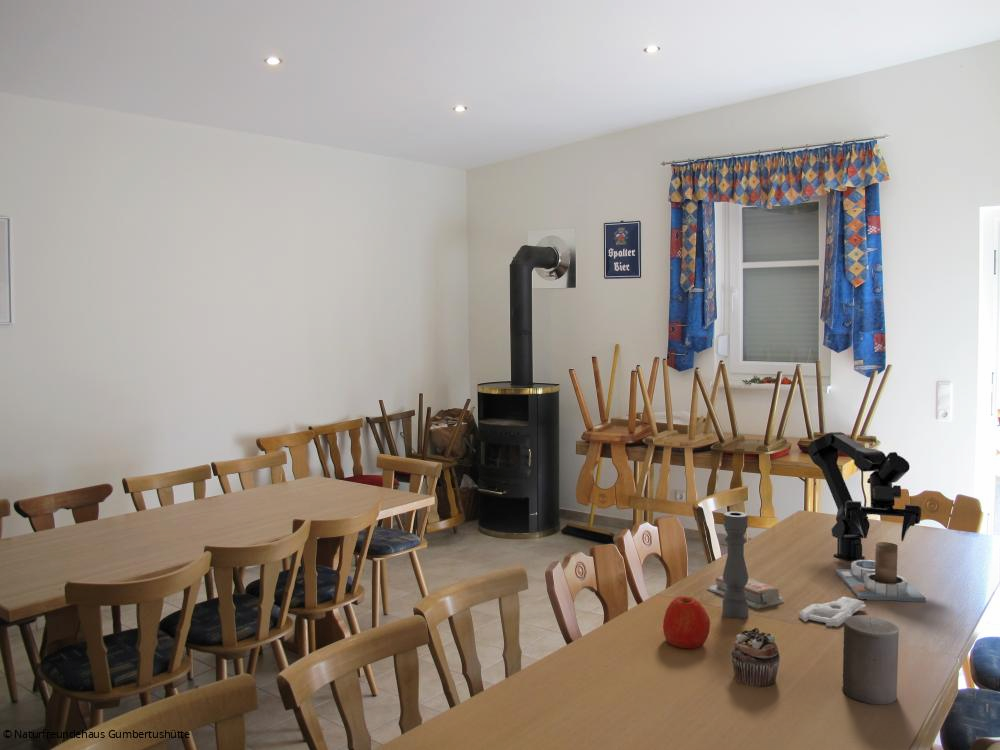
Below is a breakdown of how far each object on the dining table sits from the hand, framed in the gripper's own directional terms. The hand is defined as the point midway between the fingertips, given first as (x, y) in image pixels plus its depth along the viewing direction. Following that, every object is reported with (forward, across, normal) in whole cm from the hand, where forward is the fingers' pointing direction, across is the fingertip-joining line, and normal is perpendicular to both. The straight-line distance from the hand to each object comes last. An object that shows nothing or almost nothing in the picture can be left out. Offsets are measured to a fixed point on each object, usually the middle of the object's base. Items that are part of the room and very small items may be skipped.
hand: (883, 538), depth 218 cm
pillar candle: (+59, -7, -41) cm, 72 cm away
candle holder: (+34, -35, -16) cm, 51 cm away
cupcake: (+59, -28, -41) cm, 78 cm away
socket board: (+10, -1, +8) cm, 13 cm away
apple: (+50, -44, -32) cm, 73 cm away
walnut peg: (+13, 0, +4) cm, 14 cm away
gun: (+30, -13, -11) cm, 34 cm away
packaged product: (+24, -34, -5) cm, 42 cm away
